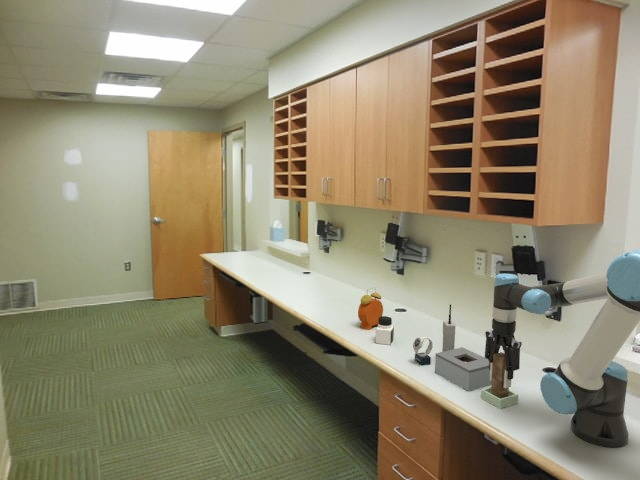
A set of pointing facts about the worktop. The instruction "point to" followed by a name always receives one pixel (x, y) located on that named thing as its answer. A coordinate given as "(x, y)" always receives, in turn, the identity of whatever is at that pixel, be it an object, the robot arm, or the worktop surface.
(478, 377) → the grey box with hole
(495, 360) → the brown wooden block
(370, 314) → the alarm clock
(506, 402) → the green square tray
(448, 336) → the grey rectangular bar
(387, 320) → the medicine bottle
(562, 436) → the worktop surface
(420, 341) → the watch
